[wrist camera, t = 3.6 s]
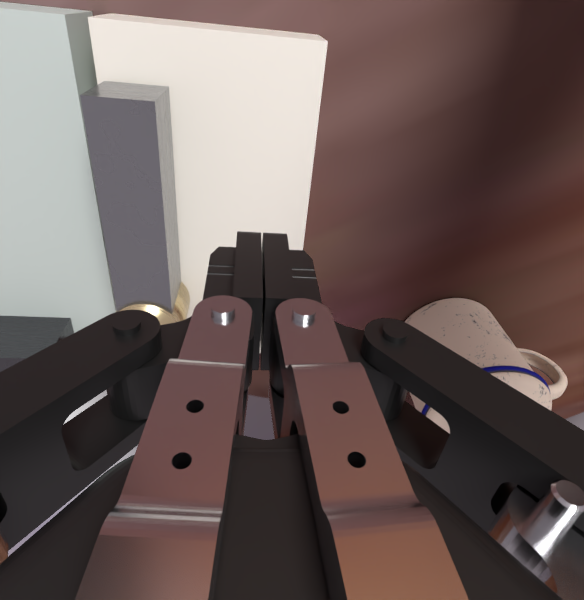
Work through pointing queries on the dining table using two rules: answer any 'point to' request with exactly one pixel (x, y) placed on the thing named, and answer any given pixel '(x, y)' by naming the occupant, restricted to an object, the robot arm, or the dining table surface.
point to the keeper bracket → (29, 336)
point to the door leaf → (48, 170)
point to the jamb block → (225, 124)
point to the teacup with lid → (485, 351)
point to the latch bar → (137, 195)
